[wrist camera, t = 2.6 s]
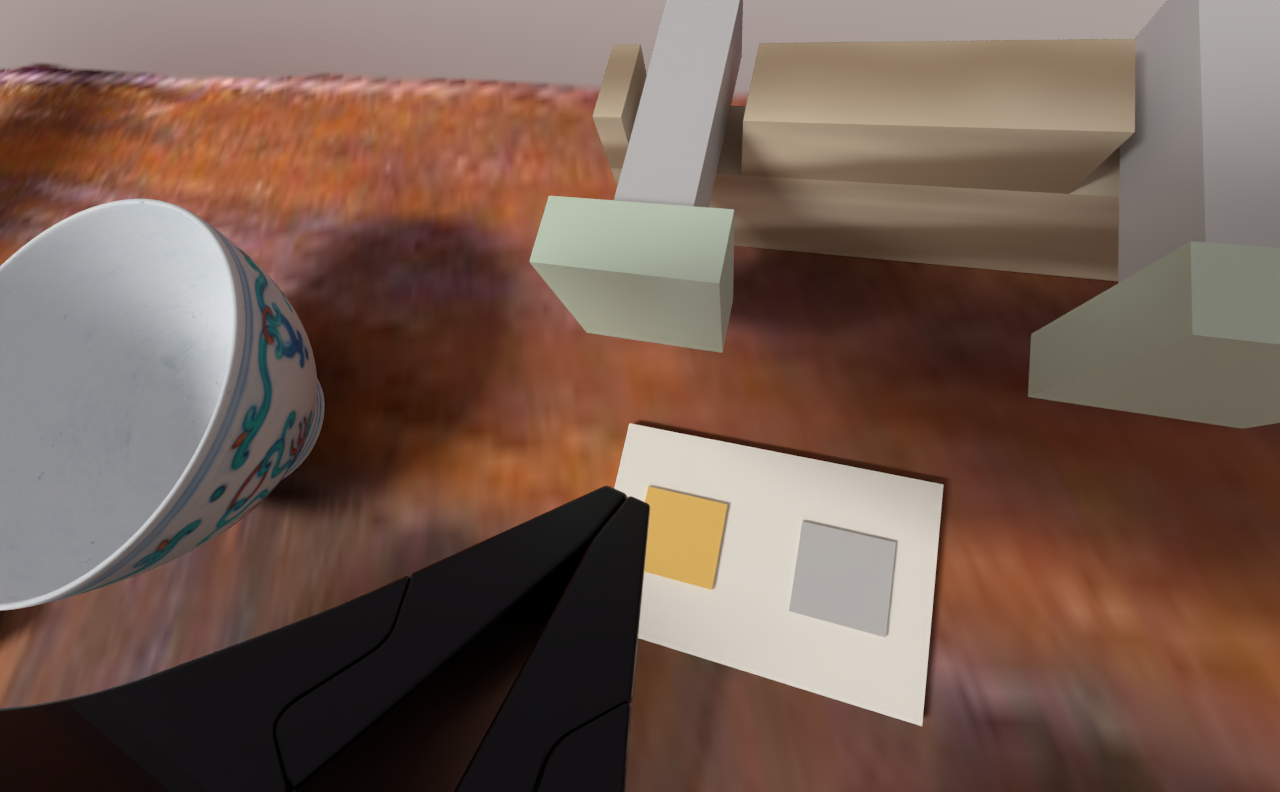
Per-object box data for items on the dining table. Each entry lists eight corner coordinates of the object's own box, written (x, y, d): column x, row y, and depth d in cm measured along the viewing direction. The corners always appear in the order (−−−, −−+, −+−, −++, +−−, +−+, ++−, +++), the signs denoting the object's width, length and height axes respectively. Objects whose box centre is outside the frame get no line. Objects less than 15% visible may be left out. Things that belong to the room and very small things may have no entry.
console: (1137, 283, 17) (1396, 139, 10) (634, 236, 22) (592, 116, 15) (1137, 213, 18) (1382, 36, 11) (648, 182, 22) (613, 45, 16)
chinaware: (330, 239, 26) (170, 130, 18) (449, 448, 21) (298, 417, 14) (122, 399, 26) (-120, 355, 18) (195, 643, 21) (-89, 714, 14)
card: (917, 720, 15) (923, 728, 15) (586, 618, 18) (582, 622, 18) (938, 485, 17) (945, 484, 16) (631, 424, 20) (628, 422, 19)
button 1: (1242, 428, 12) (1571, 377, 7) (1027, 397, 13) (1192, 334, 9) (1228, 92, 14) (1475, -115, 10) (1044, 90, 16) (1183, -96, 11)
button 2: (722, 352, 15) (719, 283, 11) (587, 332, 17) (529, 261, 12) (774, 88, 18) (790, -68, 13) (650, 87, 19) (623, -57, 14)
